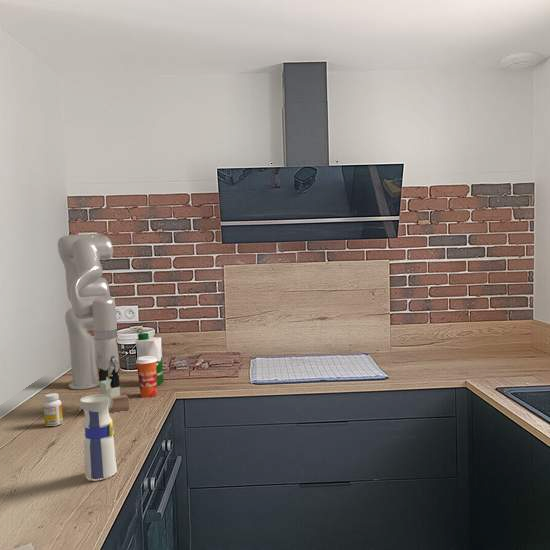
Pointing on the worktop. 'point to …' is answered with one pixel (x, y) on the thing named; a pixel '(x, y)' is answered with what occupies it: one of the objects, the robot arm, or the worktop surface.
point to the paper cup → (147, 375)
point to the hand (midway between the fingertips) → (109, 384)
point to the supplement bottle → (53, 409)
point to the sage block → (109, 390)
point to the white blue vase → (98, 435)
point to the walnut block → (120, 403)
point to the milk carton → (151, 351)
